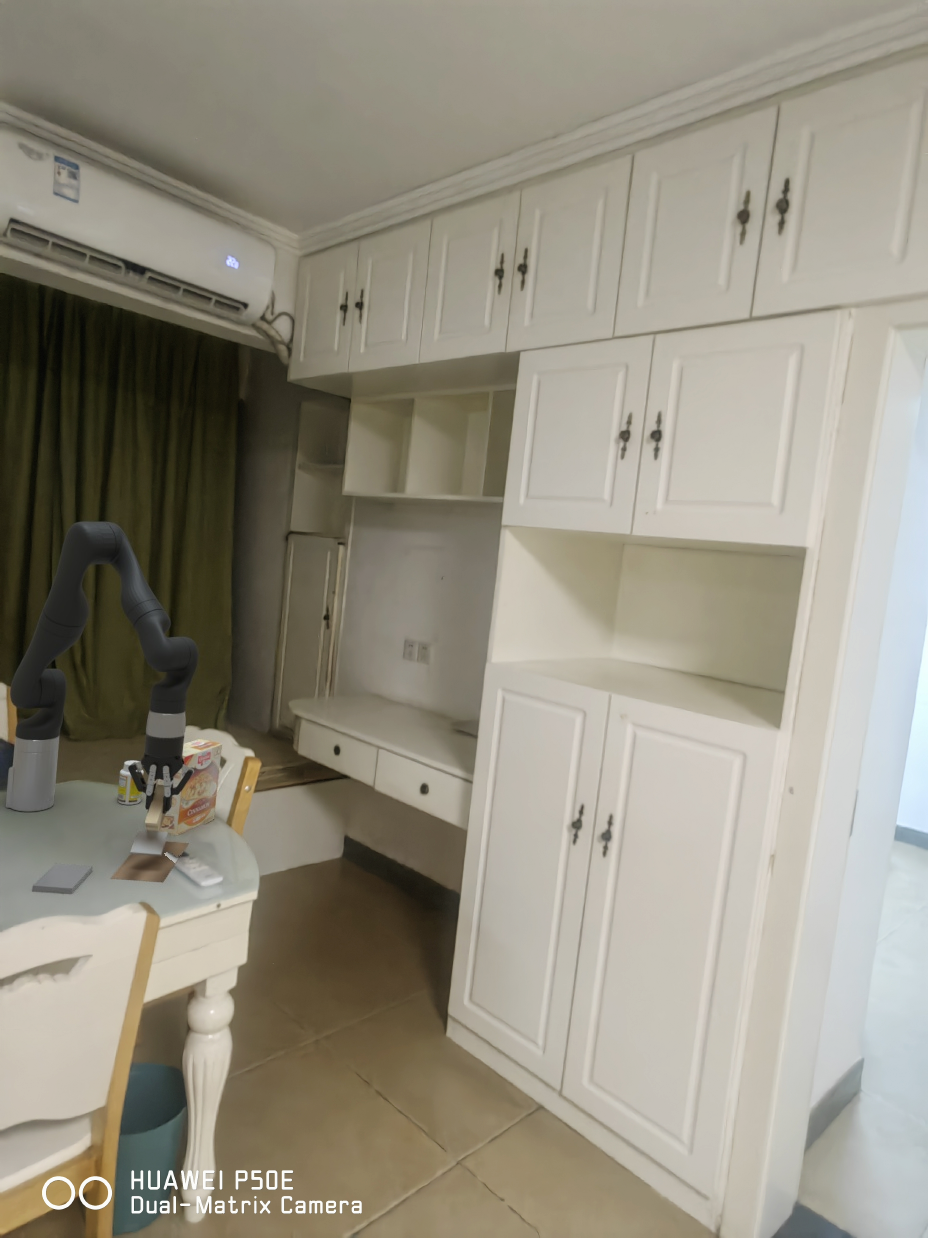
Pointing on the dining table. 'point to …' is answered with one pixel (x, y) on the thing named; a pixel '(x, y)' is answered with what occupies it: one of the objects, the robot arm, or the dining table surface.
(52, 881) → the glazed tile
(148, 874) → the board
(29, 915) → the dining table surface
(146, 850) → the turner
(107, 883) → the dining table surface
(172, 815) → the coffeecake box
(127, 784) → the supplement bottle
